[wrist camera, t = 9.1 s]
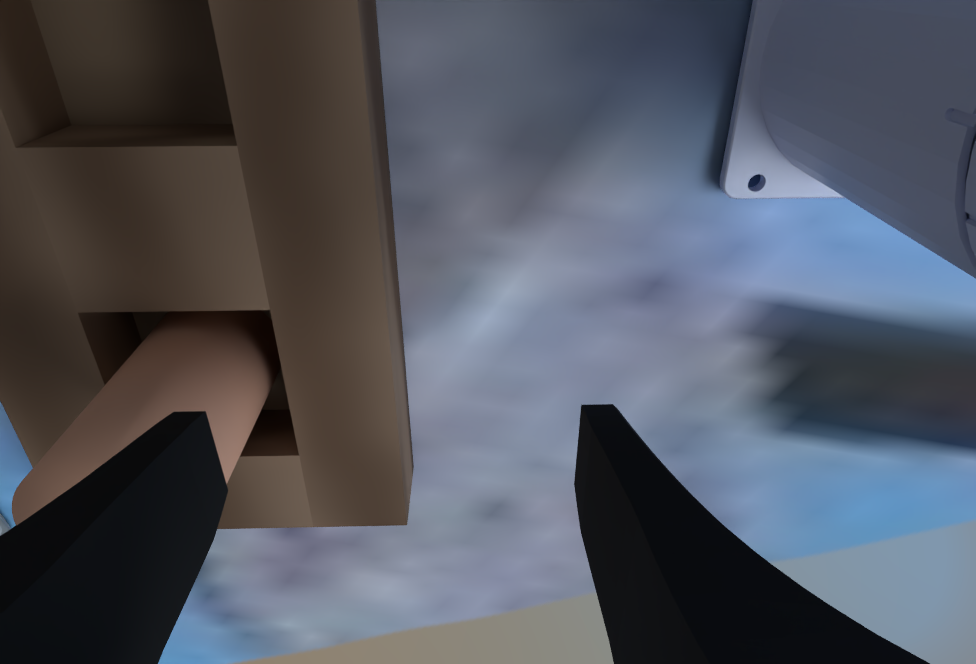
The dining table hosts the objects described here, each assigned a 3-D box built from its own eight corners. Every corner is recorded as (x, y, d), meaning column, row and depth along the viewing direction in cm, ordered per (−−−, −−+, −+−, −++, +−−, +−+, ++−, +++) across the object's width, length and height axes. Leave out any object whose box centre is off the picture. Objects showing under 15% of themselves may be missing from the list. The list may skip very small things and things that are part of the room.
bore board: (352, -290, 14) (324, -349, 11) (413, 466, 25) (407, 525, 22) (-206, -293, 14) (-366, -355, 11) (106, 472, 25) (64, 532, 22)
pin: (274, 292, 20) (174, 459, 13) (291, 393, 22) (213, 583, 15) (148, 292, 20) (-18, 461, 13) (177, 393, 22) (46, 586, 15)
